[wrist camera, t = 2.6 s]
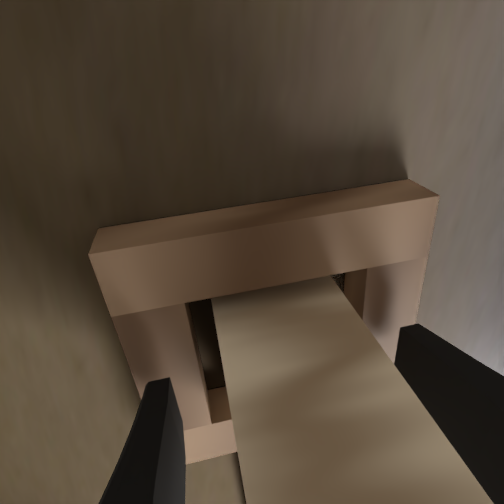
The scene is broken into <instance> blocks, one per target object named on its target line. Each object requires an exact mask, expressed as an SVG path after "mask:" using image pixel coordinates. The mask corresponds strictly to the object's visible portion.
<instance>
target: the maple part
mask: <svg viewBox="0 0 504 504" xmlns="http://www.w3.org/2000/svg"><path fill="white" fill-rule="evenodd" d="M211 302H212V307H213V313H214V319H215V325H216V331H217V336H218V342H219V348H220V354H221V359H222V365H223V371H224V377H225V383H226V388H227V394H228V400H229V406H230V411H231V417H232V423H233V429H234V435H235V440H236V446H237V452H238V458H239V463H240V469H241V475H242V481H243V487H244V492H245V498H246V504H494V503H493V502H492V501H491V499H490V498H489V496H488V495H487V494H486V492H485V491H484V489H483V488H482V487H481V485H480V484H479V482H478V481H477V480H476V478H475V477H474V475H473V474H472V473H471V471H470V470H469V468H468V467H467V466H466V464H465V463H464V461H463V460H462V459H461V457H460V456H459V454H458V453H457V452H456V450H455V449H454V447H453V446H452V445H451V443H450V442H449V440H448V439H447V438H446V436H445V435H444V434H443V432H442V431H441V429H440V428H439V427H438V425H437V424H436V422H435V421H434V420H433V418H432V417H431V415H430V414H429V413H428V411H427V410H426V408H425V407H424V406H423V404H422V403H421V401H420V400H419V399H418V397H417V396H416V394H415V393H414V392H413V390H412V389H411V387H410V386H409V385H408V383H407V382H406V380H405V379H404V378H403V376H402V375H401V373H400V372H399V371H398V369H397V368H396V366H395V365H394V364H393V362H392V361H391V359H390V358H389V357H388V355H387V354H386V352H385V351H384V350H383V348H382V347H381V345H380V344H379V343H378V341H377V340H376V339H375V337H374V336H373V334H372V333H371V332H370V330H369V329H368V327H367V326H366V325H365V323H364V322H363V320H362V319H361V318H360V316H359V315H358V313H357V312H356V311H355V309H354V308H353V306H352V305H351V304H350V302H349V301H348V299H347V298H346V297H345V295H344V294H343V292H342V291H341V290H340V288H339V287H338V285H337V284H336V283H335V281H334V280H333V278H332V277H331V276H330V275H329V276H324V277H319V278H314V279H308V280H303V281H298V282H292V283H287V284H282V285H277V286H271V287H266V288H261V289H256V290H250V291H245V292H240V293H235V294H229V295H224V296H219V297H214V298H211Z"/></svg>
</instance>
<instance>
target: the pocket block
mask: <svg viewBox="0 0 504 504" xmlns="http://www.w3.org/2000/svg"><path fill="white" fill-rule="evenodd" d="M439 198H440V196H439V195H438V194H436V193H434V192H432V191H430V190H428V189H427V188H425V187H423V186H421V185H419V184H417V183H415V182H414V181H412V180H410V179H407V180H400V181H394V182H388V183H381V184H375V185H369V186H362V187H356V188H350V189H344V190H337V191H331V192H325V193H318V194H312V195H306V196H299V197H293V198H287V199H280V200H274V201H268V202H261V203H255V204H249V205H242V206H236V207H230V208H224V209H217V210H211V211H205V212H198V213H192V214H186V215H179V216H173V217H167V218H160V219H154V220H148V221H141V222H135V223H129V224H122V225H116V226H110V227H104V228H98V230H97V233H96V235H95V238H94V240H93V243H92V246H91V248H90V251H89V253H88V256H89V258H90V261H91V264H92V266H93V269H94V272H95V275H96V277H97V280H98V283H99V286H100V288H101V291H102V294H103V297H104V299H105V302H106V305H107V307H108V310H109V313H110V316H111V318H112V321H113V324H114V327H115V329H116V332H117V335H118V338H119V340H120V343H121V346H122V348H123V351H124V354H125V357H126V359H127V362H128V365H129V368H130V370H131V373H132V376H133V378H134V381H135V384H136V387H137V389H138V392H139V395H140V398H141V399H142V396H143V393H144V389H145V385H146V384H147V383H148V382H149V381H154V380H159V379H163V378H168V377H170V379H171V383H172V386H173V390H174V393H175V396H176V400H177V403H178V407H179V410H180V414H181V417H182V420H183V430H184V442H185V455H186V464H190V463H194V462H198V461H202V460H206V459H210V458H214V457H218V456H222V455H226V454H230V453H234V452H237V446H236V440H235V435H234V429H233V423H232V417H231V411H230V406H229V400H228V394H227V388H226V386H224V387H220V388H215V389H211V390H208V389H207V385H206V380H205V376H204V371H203V366H202V362H201V357H200V353H199V348H198V344H197V339H196V334H195V330H194V325H193V321H192V316H191V312H190V307H189V302H193V301H198V300H203V299H208V298H214V297H219V296H224V295H229V294H235V293H240V292H245V291H250V290H256V289H261V288H266V287H271V286H277V285H282V284H287V283H292V282H298V281H303V280H308V279H314V278H319V277H324V276H329V275H335V274H340V273H345V278H344V295H345V297H346V298H347V299H348V301H349V302H350V304H351V305H352V306H353V308H354V309H355V311H356V312H357V313H358V315H359V316H360V318H361V319H362V320H363V322H364V323H365V325H366V326H367V327H368V329H369V330H370V332H371V333H372V334H373V336H374V337H375V339H376V340H377V341H378V343H379V344H380V345H381V347H382V348H383V350H384V351H385V352H386V354H387V355H388V357H389V358H390V359H391V361H392V362H393V364H394V361H395V355H396V349H397V343H398V337H399V331H400V327H404V326H409V325H414V324H415V323H416V318H417V312H418V307H419V302H420V297H421V292H422V286H423V281H424V276H425V271H426V265H427V260H428V255H429V250H430V245H431V239H432V234H433V229H434V224H435V218H436V213H437V208H438V203H439Z"/></svg>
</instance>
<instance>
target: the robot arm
mask: <svg viewBox="0 0 504 504" xmlns="http://www.w3.org/2000/svg"><path fill="white" fill-rule="evenodd" d="M394 365H395V366H396V368H397V369H398V371H399V372H400V373H401V375H402V376H403V378H404V379H405V380H406V382H407V383H408V385H409V386H410V387H411V389H412V390H413V392H414V393H415V394H416V396H417V397H418V399H419V400H420V401H421V403H422V404H423V406H424V407H425V408H426V410H427V411H428V413H429V414H430V415H431V417H432V418H433V420H434V421H435V422H436V424H437V425H438V427H439V428H440V429H441V431H442V432H443V434H444V435H445V436H446V438H447V439H448V440H449V442H450V443H451V445H452V446H453V447H454V449H455V450H456V452H457V453H458V454H459V456H460V457H461V459H462V460H463V461H464V463H465V464H466V466H467V467H468V468H469V470H470V471H471V473H472V474H473V475H474V477H475V478H476V480H477V481H478V482H479V484H480V485H481V487H482V488H483V489H484V491H485V492H486V494H487V495H488V496H489V498H490V499H491V501H492V502H493V503H494V504H504V376H502V375H501V374H499V373H497V372H496V371H494V370H492V369H491V368H489V367H487V366H485V365H484V364H482V363H481V362H479V361H477V360H476V359H474V358H472V357H471V356H469V355H468V354H466V353H464V352H463V351H461V350H460V349H458V348H456V347H455V346H453V345H452V344H450V343H448V342H447V341H445V340H444V339H442V338H441V337H439V336H437V335H436V334H434V333H433V332H431V331H429V330H428V329H426V328H425V327H423V326H421V325H419V324H414V325H409V326H404V327H400V331H399V337H398V343H397V349H396V355H395V361H394ZM185 472H186V455H185V442H184V430H183V420H182V417H181V414H180V410H179V407H178V403H177V400H176V396H175V393H174V390H173V386H172V383H171V379H170V377H168V378H163V379H159V380H154V381H149V382H148V383H147V384H146V385H145V389H144V393H143V396H142V399H141V402H140V405H139V408H138V411H137V414H136V417H135V420H134V422H133V425H132V428H131V431H130V433H129V436H128V438H127V441H126V443H125V446H124V448H123V450H122V453H121V455H120V458H119V460H118V463H117V465H116V467H115V469H114V471H113V474H112V476H111V478H110V480H109V482H108V485H107V487H106V489H105V491H104V493H103V495H102V498H101V500H100V502H99V504H185Z"/></svg>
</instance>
